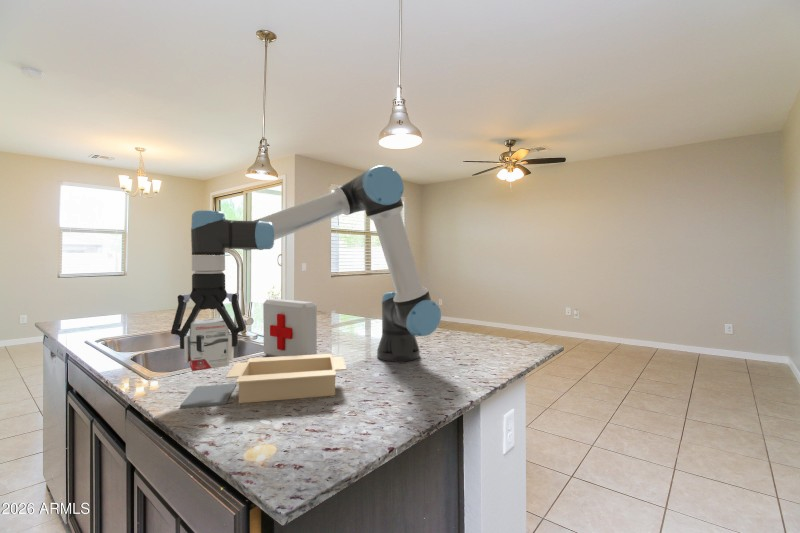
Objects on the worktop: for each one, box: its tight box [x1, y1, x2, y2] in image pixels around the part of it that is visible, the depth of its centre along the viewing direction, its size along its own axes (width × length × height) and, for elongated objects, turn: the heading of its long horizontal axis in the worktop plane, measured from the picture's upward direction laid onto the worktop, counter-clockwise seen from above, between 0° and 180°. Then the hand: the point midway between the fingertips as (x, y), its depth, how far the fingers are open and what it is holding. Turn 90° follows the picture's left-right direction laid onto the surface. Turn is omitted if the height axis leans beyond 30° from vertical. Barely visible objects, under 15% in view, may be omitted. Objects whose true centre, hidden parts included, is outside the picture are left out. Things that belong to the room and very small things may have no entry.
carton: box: [225, 353, 347, 404], centre depth 101 cm, size 29×20×6 cm
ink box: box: [189, 317, 230, 372], centre depth 96 cm, size 8×5×12 cm, turn 123°
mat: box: [179, 383, 237, 409], centre depth 96 cm, size 10×13×1 cm
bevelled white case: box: [262, 298, 318, 357], centre depth 131 cm, size 21×8×20 cm, turn 58°
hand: (209, 360), depth 96 cm, fingers closed on ink box, 9 cm apart
